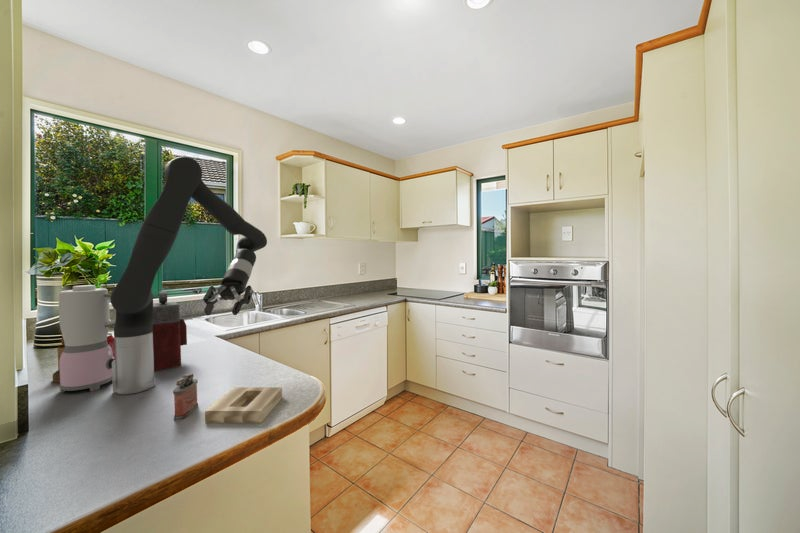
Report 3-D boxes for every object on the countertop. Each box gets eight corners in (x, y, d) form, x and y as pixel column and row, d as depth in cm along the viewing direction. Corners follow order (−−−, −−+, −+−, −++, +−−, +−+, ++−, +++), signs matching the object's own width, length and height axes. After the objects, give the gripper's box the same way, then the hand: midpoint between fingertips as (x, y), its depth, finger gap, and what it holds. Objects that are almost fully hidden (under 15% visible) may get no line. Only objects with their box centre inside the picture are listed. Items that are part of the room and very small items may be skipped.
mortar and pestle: (62, 383, 105) (60, 328, 104) (47, 381, 106) (44, 327, 105) (86, 375, 111) (84, 323, 110) (71, 374, 112) (69, 323, 112)
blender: (48, 396, 95) (42, 288, 93) (78, 380, 106) (74, 284, 105) (111, 391, 98) (107, 287, 97) (134, 376, 110) (130, 283, 109)
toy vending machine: (188, 364, 122) (186, 291, 121) (151, 372, 114) (148, 293, 113) (184, 359, 128) (182, 289, 127) (149, 365, 121) (146, 291, 120)
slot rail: (205, 422, 80) (204, 410, 80) (234, 397, 94) (234, 387, 94) (261, 422, 80) (260, 410, 80) (282, 397, 94) (282, 387, 94)
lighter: (188, 405, 89) (187, 370, 88) (201, 405, 89) (200, 369, 89) (170, 420, 81) (169, 381, 80) (184, 420, 81) (183, 381, 81)
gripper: (212, 267, 109) (192, 307, 98) (254, 267, 109) (238, 306, 98) (222, 281, 115) (203, 320, 104) (261, 281, 114) (247, 320, 104)
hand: (220, 313), depth 101 cm, fingers open, 8 cm apart
